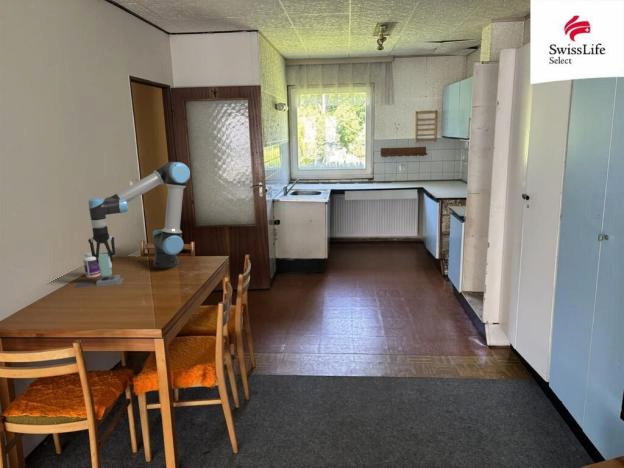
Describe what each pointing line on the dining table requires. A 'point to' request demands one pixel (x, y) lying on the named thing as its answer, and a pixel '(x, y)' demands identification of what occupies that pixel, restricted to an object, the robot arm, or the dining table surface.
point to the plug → (105, 264)
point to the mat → (84, 284)
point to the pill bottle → (91, 265)
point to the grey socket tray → (108, 281)
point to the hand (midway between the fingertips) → (105, 267)
